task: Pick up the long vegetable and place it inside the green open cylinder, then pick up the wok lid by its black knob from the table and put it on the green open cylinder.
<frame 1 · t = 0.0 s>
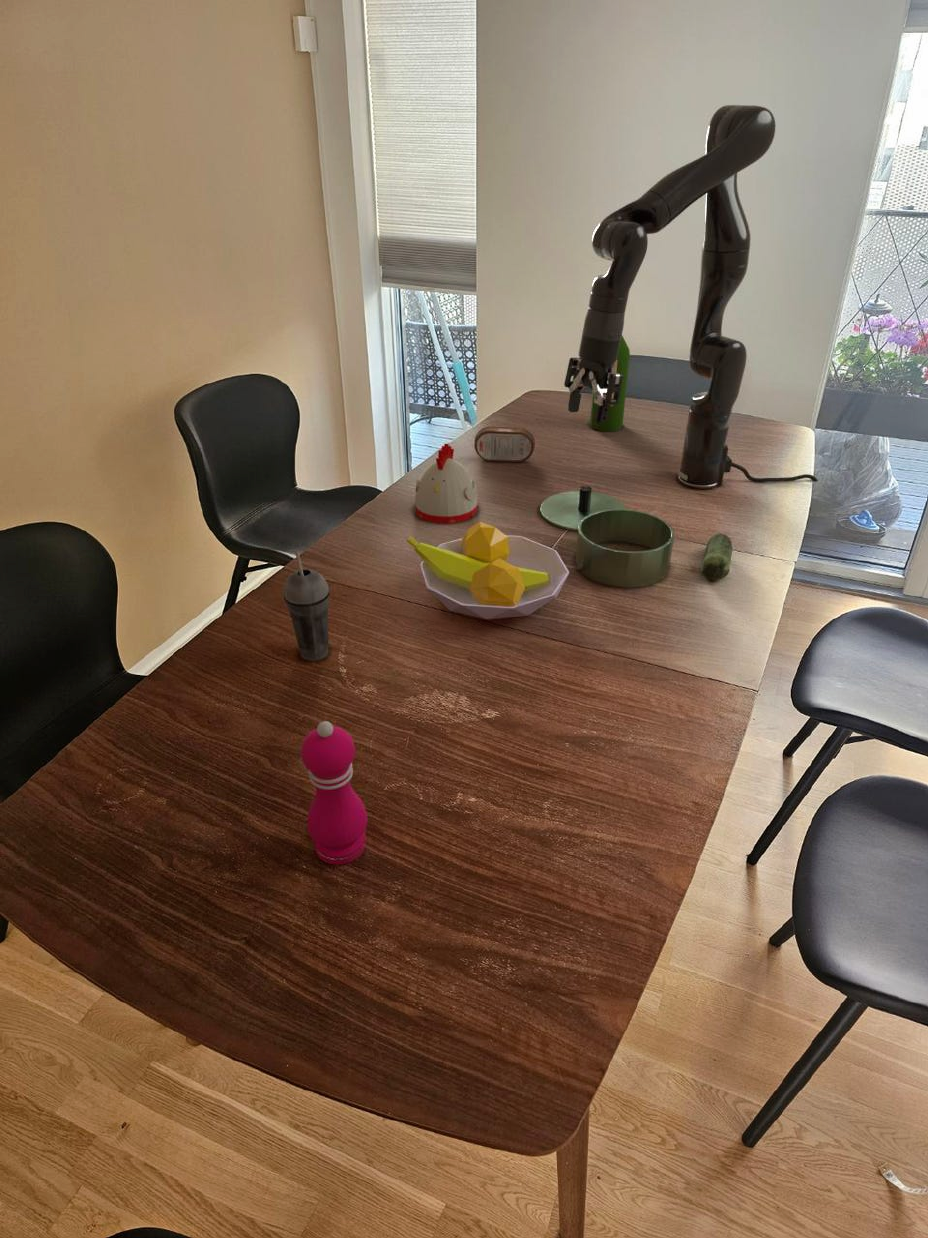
hand: (585, 417, 162), 22 cm above the table, tool pointing down, fingers open, 8 cm apart
green open cylinder: (621, 563, 158), on the table
tin: (503, 461, 201), on the table
vegetable: (715, 567, 157), on the table
fruit bowl: (487, 595, 149), on the table
wine bottle: (605, 426, 221), on the table
kitchen timer: (446, 510, 179), on the table
pepper mill: (340, 846, 100), on the table
wok lid: (583, 511, 176), point 1 cm above the table
beverage cup: (314, 653, 134), on the table
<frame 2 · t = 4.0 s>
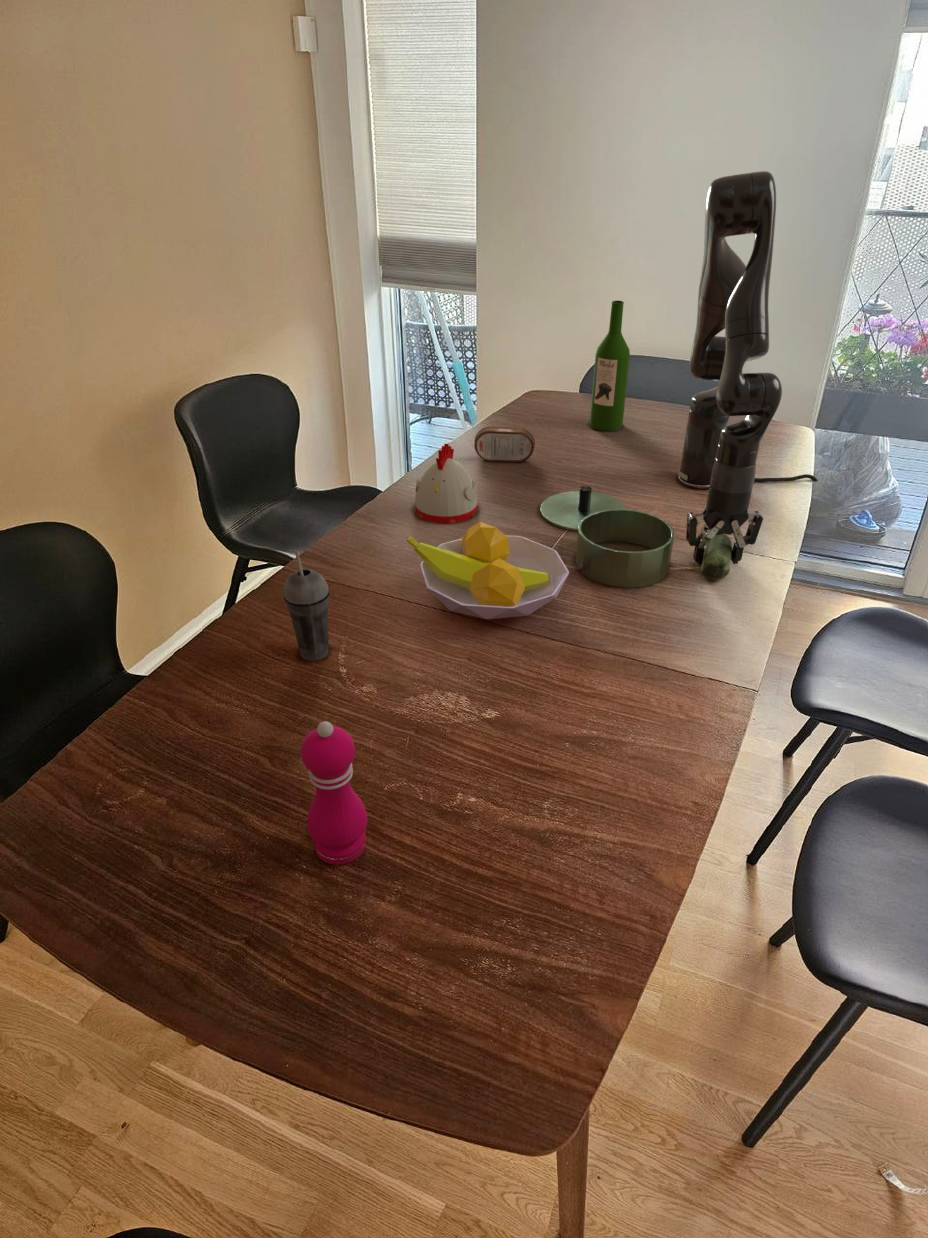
hand: (716, 562, 156), 1 cm above the table, tool pointing down, fingers closed on vegetable, 6 cm apart
vegetable: (715, 567, 157), on the table, touching gripper
everything else where it was.
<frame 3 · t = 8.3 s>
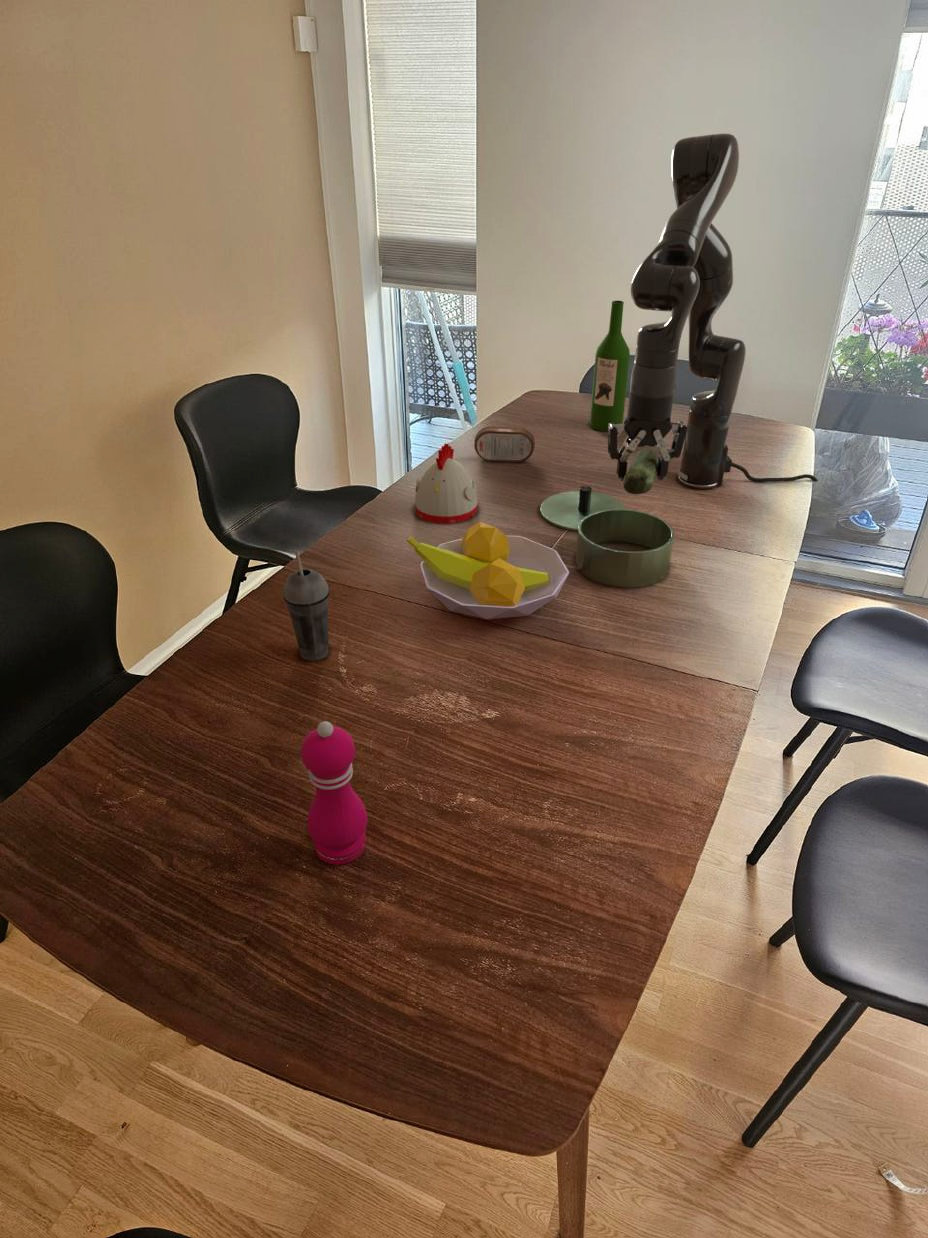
hand: (640, 478, 148), 18 cm above the table, tool pointing down, fingers closed on vegetable, 6 cm apart
vegetable: (640, 484, 148), point 17 cm above the table, touching gripper
everything else where it was.
when the fingers open (2 cm above the table, at t = 12.8 s): vegetable stays where it is, resting on green open cylinder.
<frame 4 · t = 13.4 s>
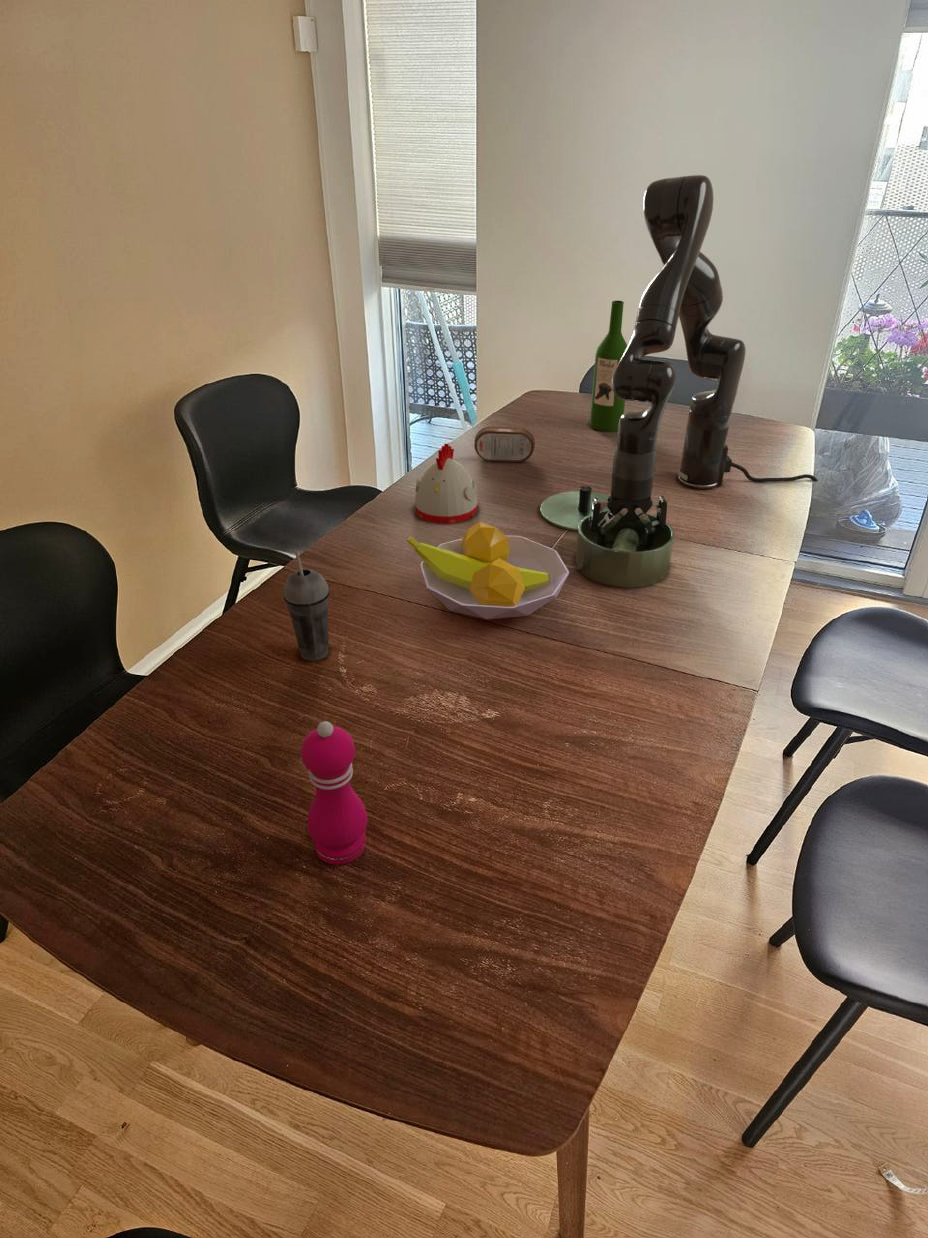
hand: (624, 548, 156), 3 cm above the table, tool pointing down, fingers open, 8 cm apart
vegetable: (622, 562, 158), resting on green open cylinder
everything else where it was.
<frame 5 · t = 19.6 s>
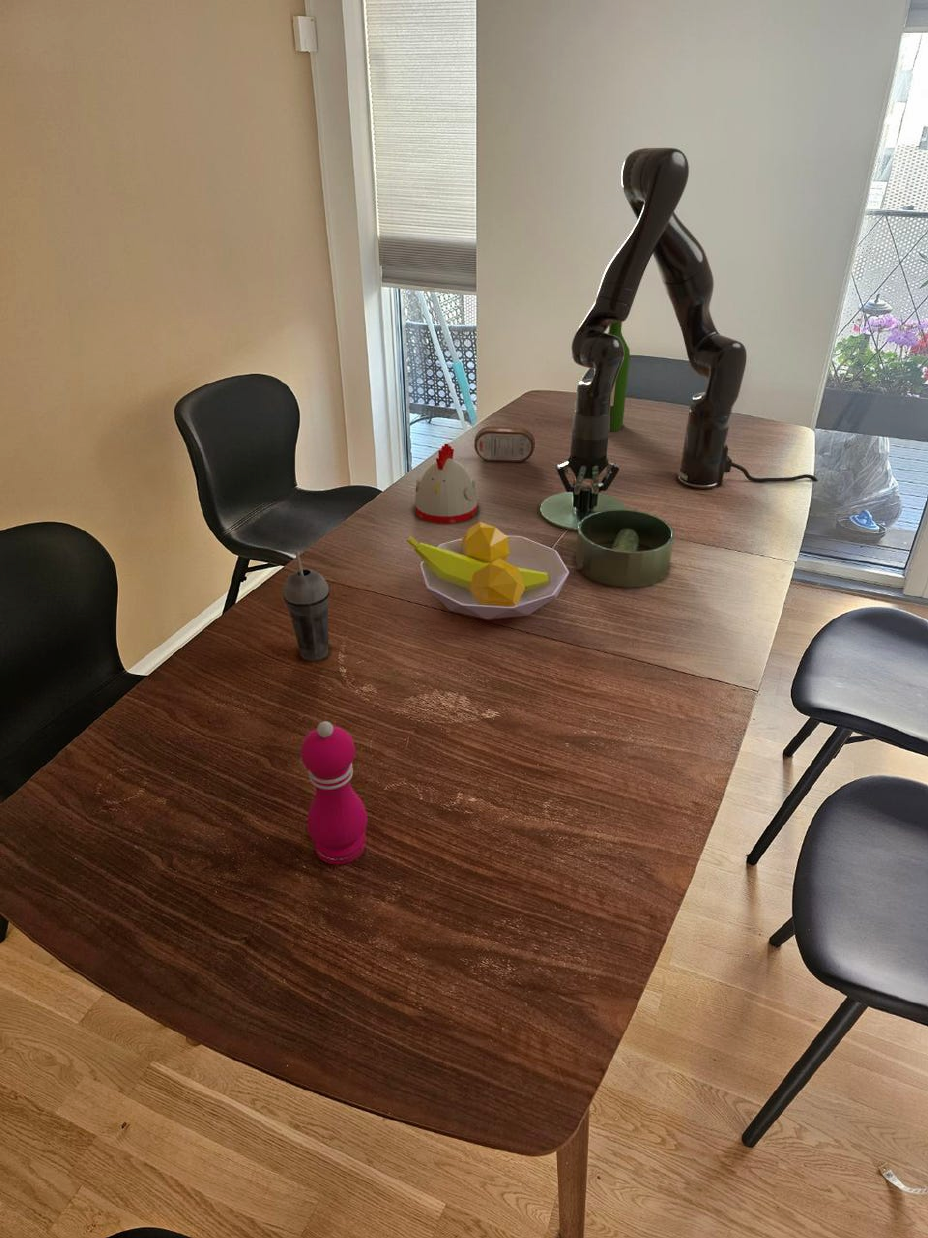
hand: (583, 507, 175), 2 cm above the table, tool pointing down, fingers closed on wok lid, 2 cm apart
wok lid: (583, 511, 176), point 1 cm above the table, touching gripper
everything else where it was.
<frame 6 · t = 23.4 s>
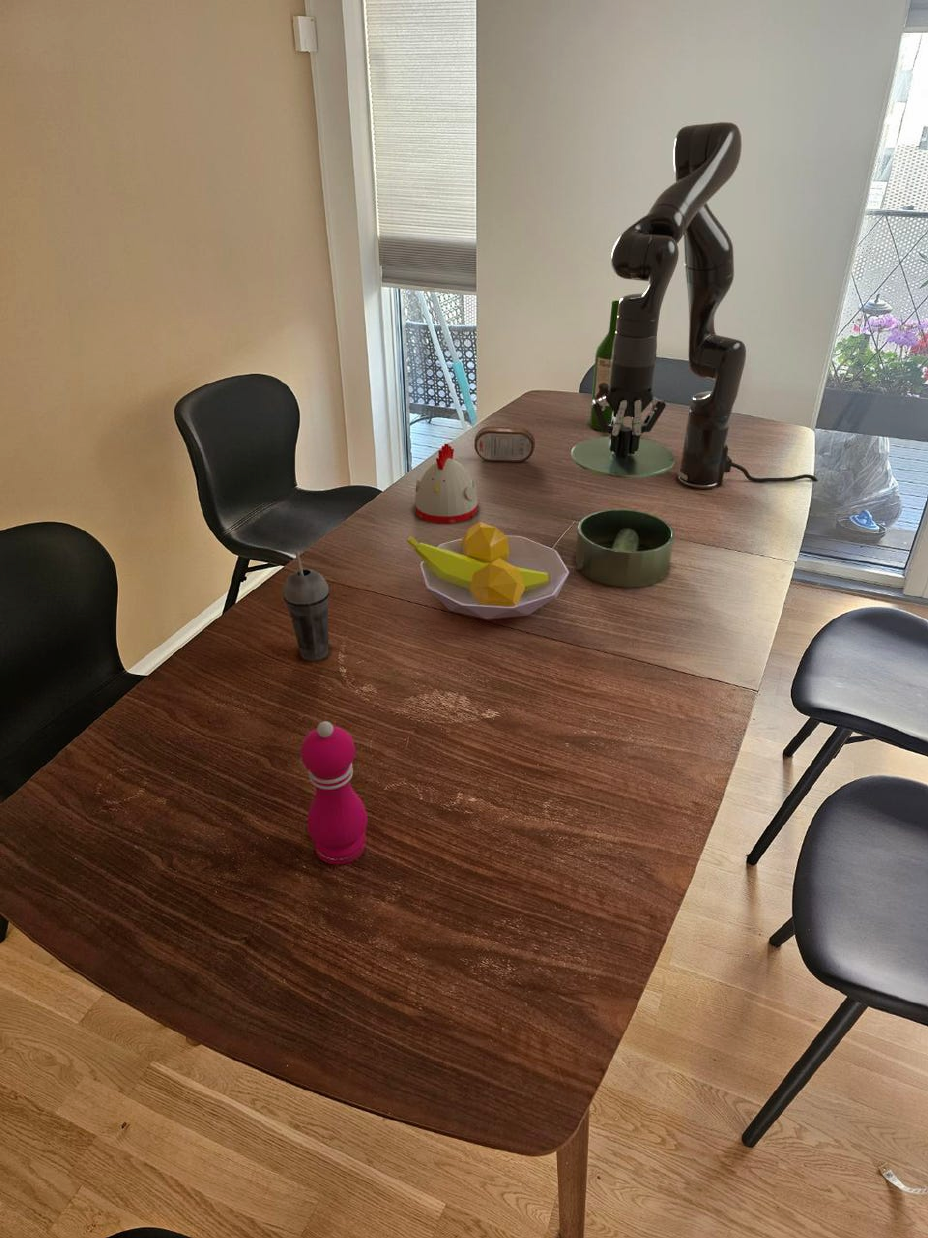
hand: (622, 452, 150), 21 cm above the table, tool pointing down, fingers closed on wok lid, 2 cm apart
wok lid: (622, 457, 150), point 20 cm above the table, touching gripper
everything else where it was.
when the fingers open (9 cm above the table, at t = 27.0 s): wok lid stays where it is, resting on green open cylinder.
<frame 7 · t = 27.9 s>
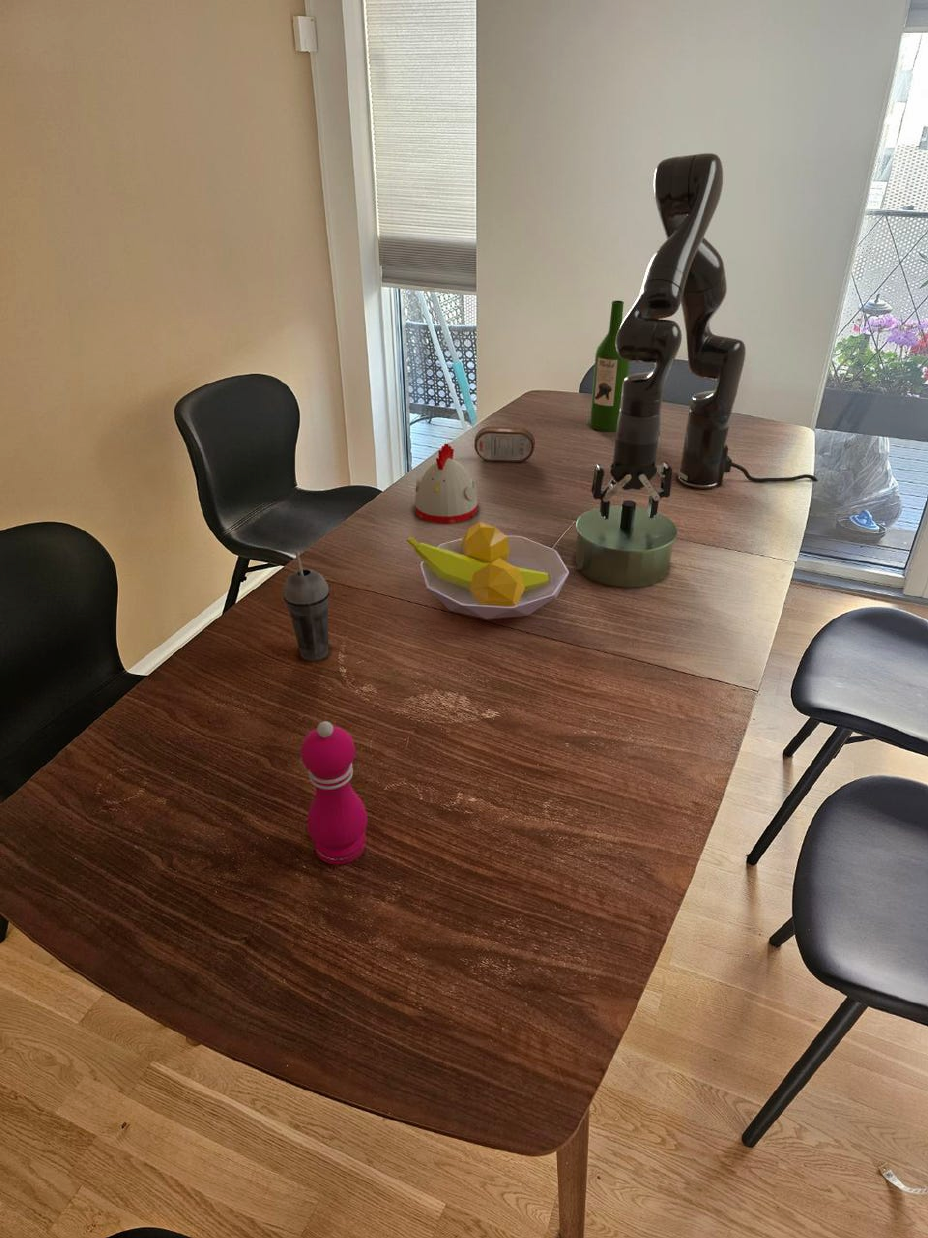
hand: (627, 517, 152), 10 cm above the table, tool pointing down, fingers open, 8 cm apart
wok lid: (625, 529, 154), point 7 cm above the table, touching green open cylinder
everything else where it was.
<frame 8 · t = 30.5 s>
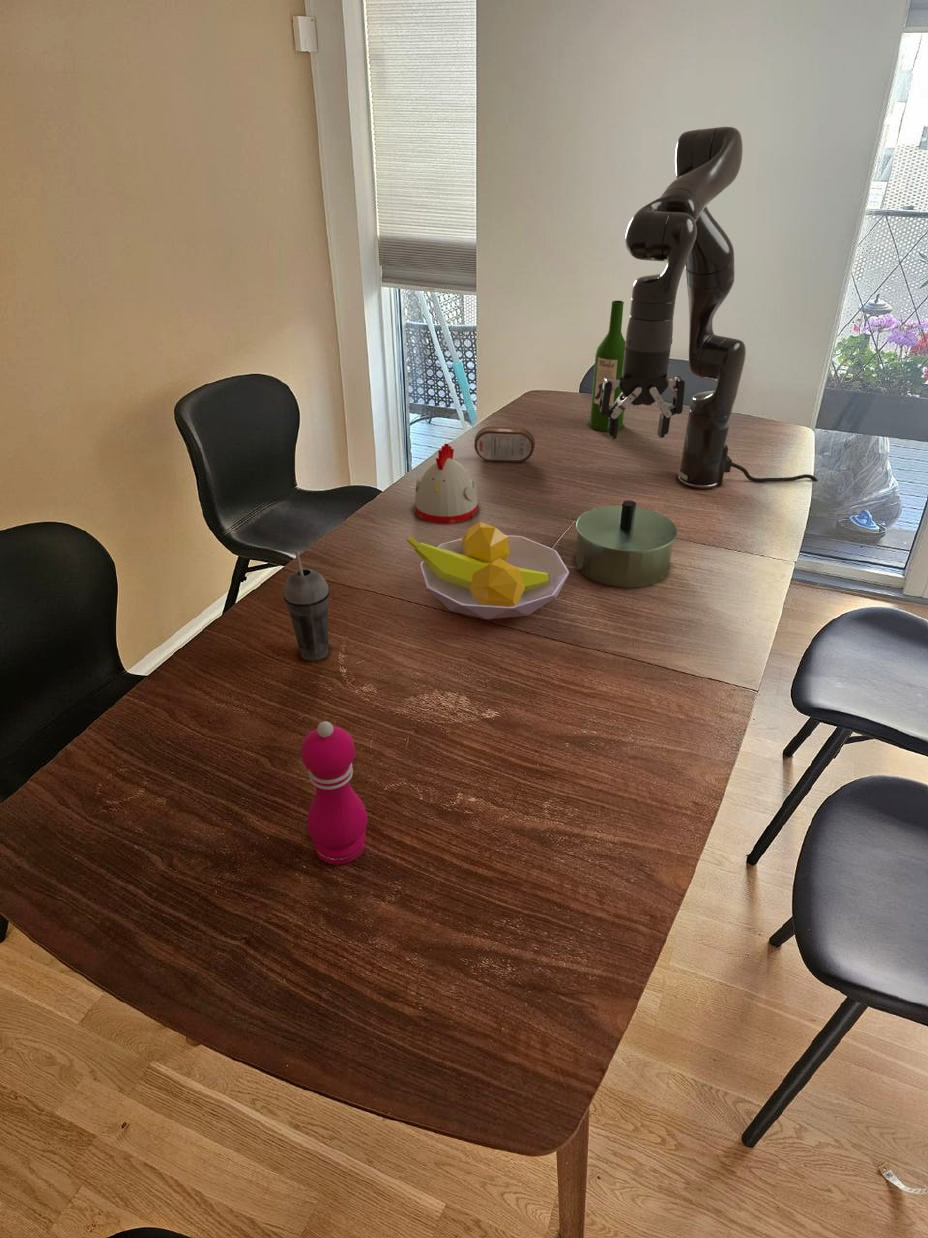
hand: (637, 436, 143), 26 cm above the table, tool pointing down, fingers open, 8 cm apart
nothing on the table moved.
at the end: vegetable inside the target area in the green open cylinder (0.1 cm from its centre), point 0.3 cm above the green open cylinder's base; wok lid 0.1 cm off-centre on the green open cylinder, point 7.5 cm above the green open cylinder's base; wok lid tilted 0° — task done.
